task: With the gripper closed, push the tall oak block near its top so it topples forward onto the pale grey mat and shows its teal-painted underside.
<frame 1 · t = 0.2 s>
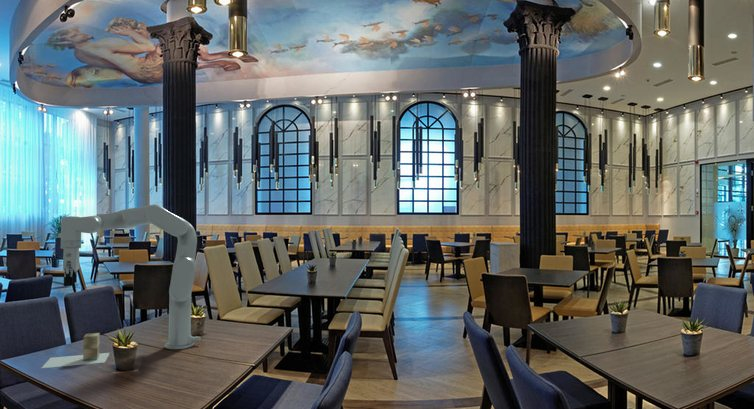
hand: (70, 284, 208), 31 cm above the table, tool pointing down, fingers open, 9 cm apart
oak block: (91, 358, 201), point 1 cm above the table, touching grey mat
grey mat: (77, 361, 199), on the table
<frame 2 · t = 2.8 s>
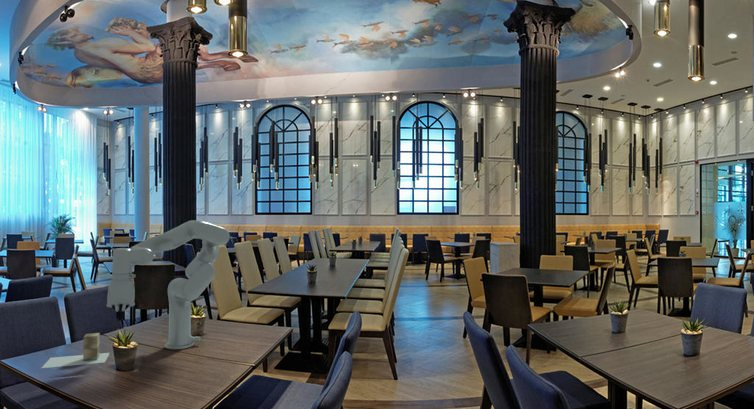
hand: (120, 320, 204), 16 cm above the table, tool pointing down, fingers closed
nothing on the table moved.
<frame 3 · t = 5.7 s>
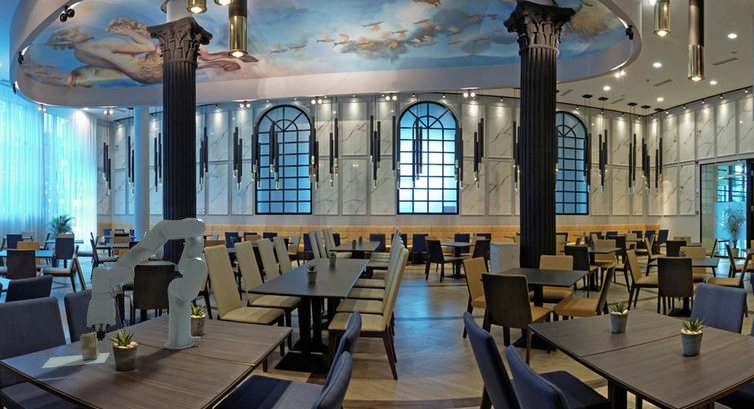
hand: (100, 339, 202), 8 cm above the table, tool pointing down, fingers closed
oak block: (91, 358, 201), point 1 cm above the table, tilted 8°, touching grey mat
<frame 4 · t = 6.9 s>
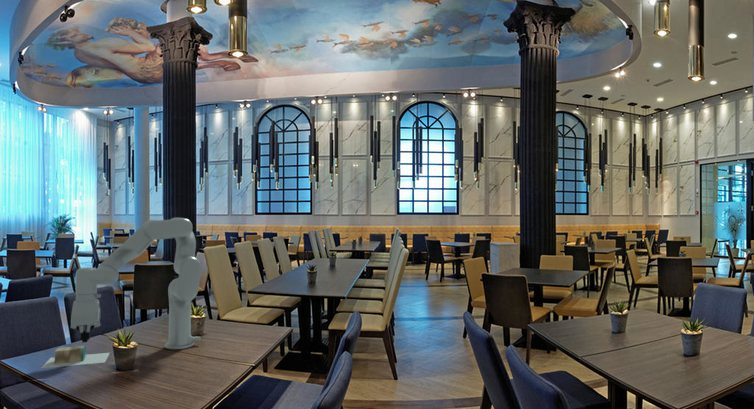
hand: (85, 341, 200), 8 cm above the table, tool pointing down, fingers closed
oak block: (84, 353, 200), point 3 cm above the table, tilted 90°, touching grey mat
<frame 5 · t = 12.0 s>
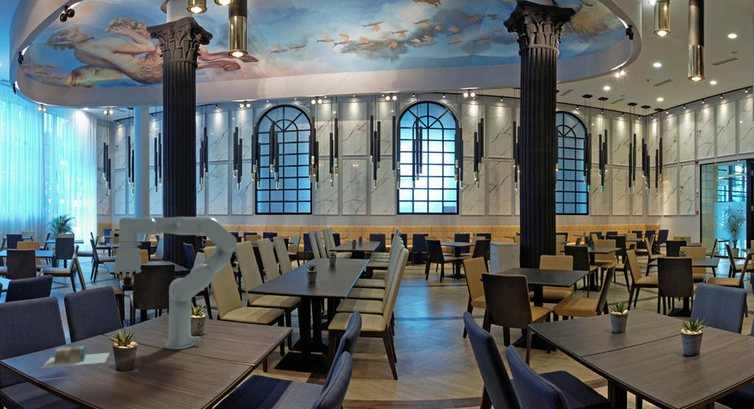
hand: (127, 286, 215), 29 cm above the table, tool pointing down, fingers closed
nothing on the table moved.
at the end: oak block tilted 90°; oak block inside the target area (1.0 cm from its centre), point 3.3 cm above the table; oak block touching grey mat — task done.
